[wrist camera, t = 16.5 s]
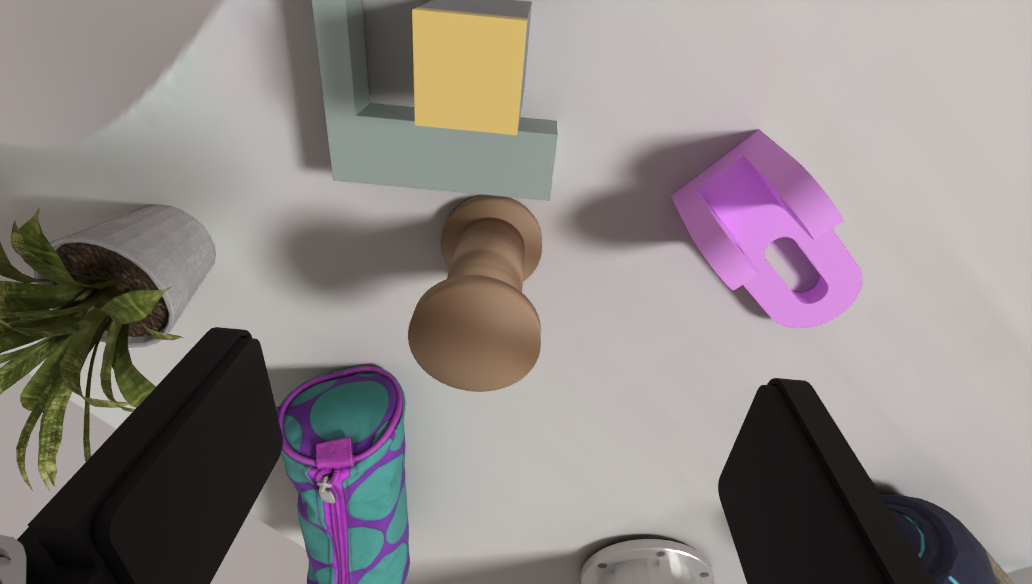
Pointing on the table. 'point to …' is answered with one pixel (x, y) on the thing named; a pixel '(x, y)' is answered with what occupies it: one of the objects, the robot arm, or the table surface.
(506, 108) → the yellow and grey block
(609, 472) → the table surface
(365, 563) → the pencil case
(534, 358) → the bobbin
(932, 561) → the portable speaker
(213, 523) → the robot arm
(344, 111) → the notched board
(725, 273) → the bracket
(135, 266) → the house plant
